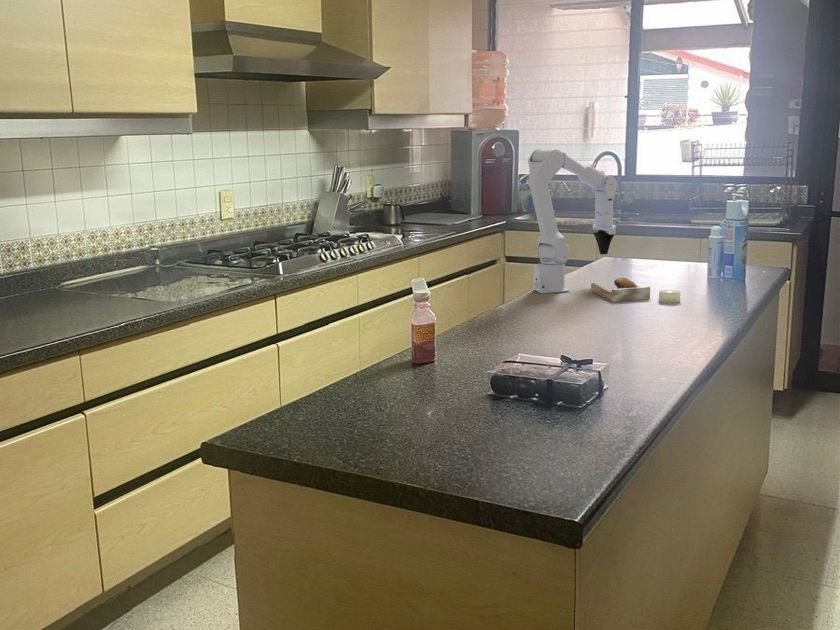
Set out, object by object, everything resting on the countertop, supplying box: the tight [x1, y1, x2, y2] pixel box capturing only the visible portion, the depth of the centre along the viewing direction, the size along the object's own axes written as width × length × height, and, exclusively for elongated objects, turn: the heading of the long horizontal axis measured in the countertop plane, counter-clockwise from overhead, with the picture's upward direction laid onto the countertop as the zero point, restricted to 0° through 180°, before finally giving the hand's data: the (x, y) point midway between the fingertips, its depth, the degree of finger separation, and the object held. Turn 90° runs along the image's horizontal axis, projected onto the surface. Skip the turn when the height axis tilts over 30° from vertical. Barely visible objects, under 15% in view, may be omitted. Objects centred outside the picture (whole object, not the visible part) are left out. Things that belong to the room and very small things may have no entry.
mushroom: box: [614, 277, 637, 289], centre depth 257 cm, size 8×8×6 cm
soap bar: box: [658, 289, 681, 304], centre depth 249 cm, size 6×6×3 cm
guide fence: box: [590, 282, 651, 302], centre depth 260 cm, size 12×17×4 cm
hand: (603, 254), depth 279 cm, fingers closed
